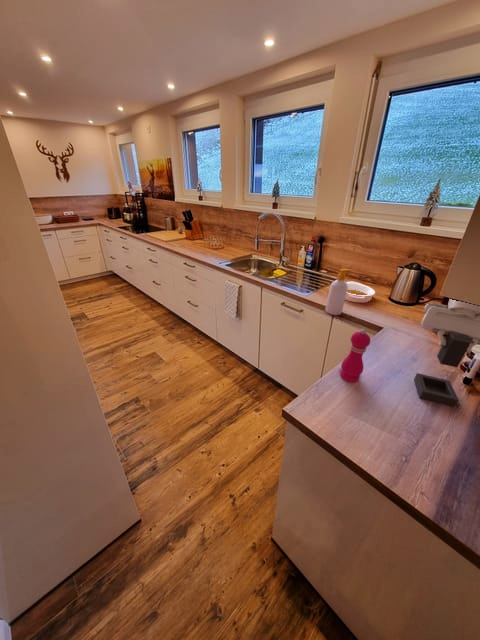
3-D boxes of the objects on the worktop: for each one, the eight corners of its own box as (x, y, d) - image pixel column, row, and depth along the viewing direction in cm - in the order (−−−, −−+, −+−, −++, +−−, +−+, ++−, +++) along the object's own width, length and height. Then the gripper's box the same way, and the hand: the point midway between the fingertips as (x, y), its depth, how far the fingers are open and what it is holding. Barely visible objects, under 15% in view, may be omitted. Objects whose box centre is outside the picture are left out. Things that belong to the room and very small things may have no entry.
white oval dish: (376, 308, 149) (378, 300, 146) (335, 302, 154) (337, 294, 152) (370, 290, 173) (372, 283, 171) (334, 285, 178) (336, 279, 176)
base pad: (445, 387, 92) (449, 380, 91) (454, 407, 84) (458, 400, 82) (413, 379, 95) (416, 373, 94) (419, 398, 87) (422, 391, 85)
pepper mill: (361, 375, 96) (377, 328, 87) (357, 386, 91) (373, 337, 81) (341, 367, 100) (354, 321, 90) (336, 377, 94) (349, 330, 85)
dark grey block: (452, 359, 86) (466, 333, 81) (457, 367, 82) (472, 340, 77) (436, 356, 87) (449, 330, 82) (440, 363, 83) (454, 337, 78)
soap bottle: (345, 315, 139) (356, 272, 128) (327, 315, 139) (337, 271, 127) (339, 308, 146) (349, 267, 135) (323, 308, 146) (331, 266, 135)
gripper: (429, 297, 86) (418, 335, 83) (511, 314, 77) (501, 357, 74) (424, 305, 91) (413, 341, 89) (499, 321, 82) (490, 362, 80)
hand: (454, 348), depth 81 cm, fingers closed on dark grey block, 5 cm apart
